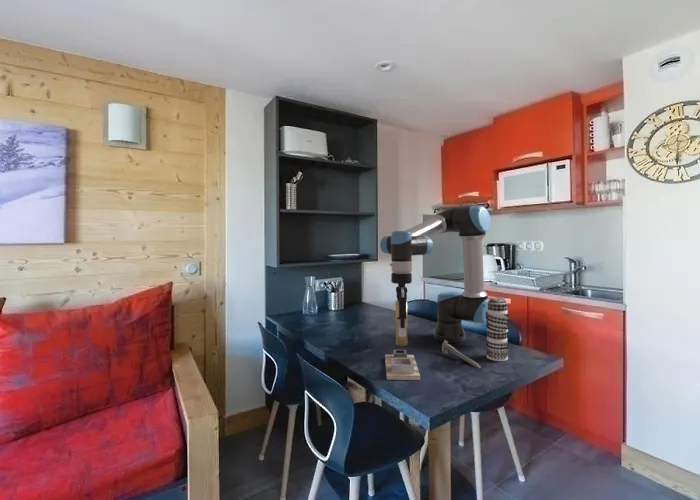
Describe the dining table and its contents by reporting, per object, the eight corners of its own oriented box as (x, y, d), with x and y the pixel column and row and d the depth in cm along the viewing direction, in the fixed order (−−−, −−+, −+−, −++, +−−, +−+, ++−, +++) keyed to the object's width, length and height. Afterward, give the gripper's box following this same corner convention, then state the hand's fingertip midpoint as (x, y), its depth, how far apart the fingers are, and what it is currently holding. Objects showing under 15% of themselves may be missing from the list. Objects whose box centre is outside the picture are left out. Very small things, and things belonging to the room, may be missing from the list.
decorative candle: (500, 353, 153) (500, 296, 152) (513, 360, 144) (514, 300, 142) (481, 354, 151) (481, 297, 150) (493, 362, 142) (493, 301, 141)
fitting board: (420, 380, 126) (420, 367, 126) (386, 379, 127) (386, 367, 127) (413, 358, 148) (413, 347, 148) (385, 358, 149) (384, 347, 149)
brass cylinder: (407, 341, 134) (406, 300, 133) (408, 345, 129) (408, 302, 129) (395, 341, 134) (395, 300, 133) (396, 345, 130) (395, 302, 129)
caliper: (441, 353, 154) (441, 339, 154) (443, 353, 155) (443, 339, 154) (479, 368, 136) (479, 353, 136) (481, 368, 137) (481, 352, 137)
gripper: (390, 270, 140) (390, 327, 141) (392, 275, 122) (392, 341, 123) (409, 269, 139) (409, 328, 140) (414, 275, 122) (414, 341, 123)
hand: (401, 334), depth 132 cm, fingers closed on brass cylinder, 4 cm apart
